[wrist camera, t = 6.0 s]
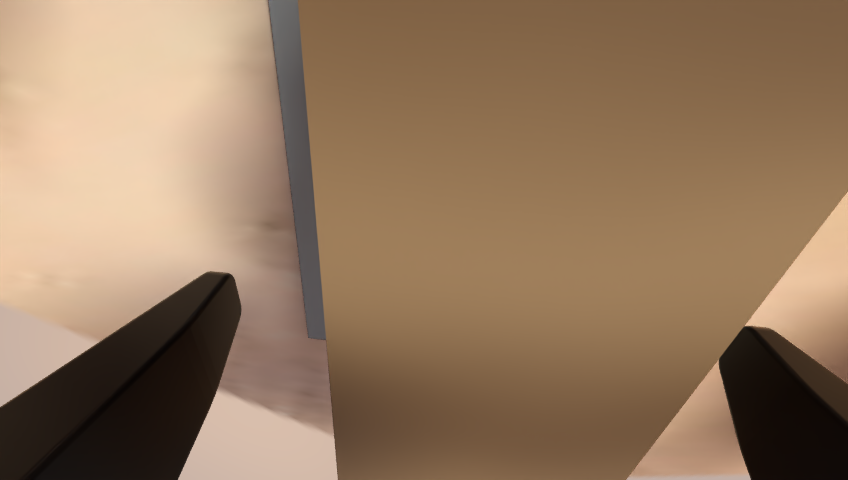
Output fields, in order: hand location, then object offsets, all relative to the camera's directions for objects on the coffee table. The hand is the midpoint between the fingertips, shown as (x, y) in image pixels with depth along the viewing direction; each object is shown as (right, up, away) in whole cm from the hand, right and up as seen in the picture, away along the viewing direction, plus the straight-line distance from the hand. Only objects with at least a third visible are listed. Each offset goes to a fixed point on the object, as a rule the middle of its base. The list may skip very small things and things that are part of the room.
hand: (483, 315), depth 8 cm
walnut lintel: (0, +1, +1) cm, 2 cm away
